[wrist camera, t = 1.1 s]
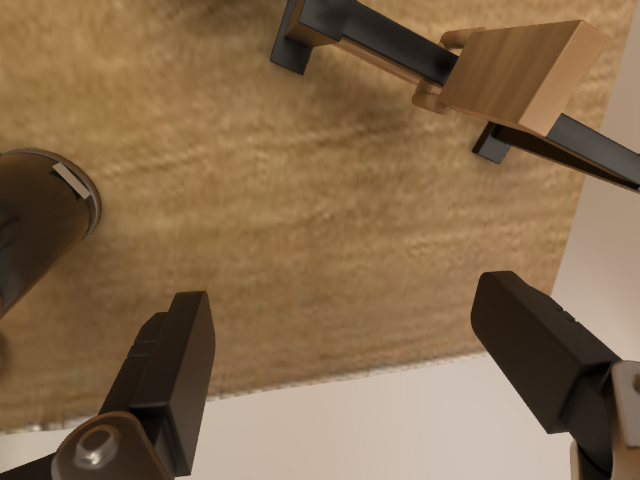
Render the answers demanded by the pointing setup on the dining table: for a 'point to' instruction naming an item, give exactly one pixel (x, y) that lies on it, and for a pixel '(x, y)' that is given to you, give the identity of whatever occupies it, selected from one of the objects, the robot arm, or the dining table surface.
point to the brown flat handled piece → (507, 72)
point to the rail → (435, 67)
